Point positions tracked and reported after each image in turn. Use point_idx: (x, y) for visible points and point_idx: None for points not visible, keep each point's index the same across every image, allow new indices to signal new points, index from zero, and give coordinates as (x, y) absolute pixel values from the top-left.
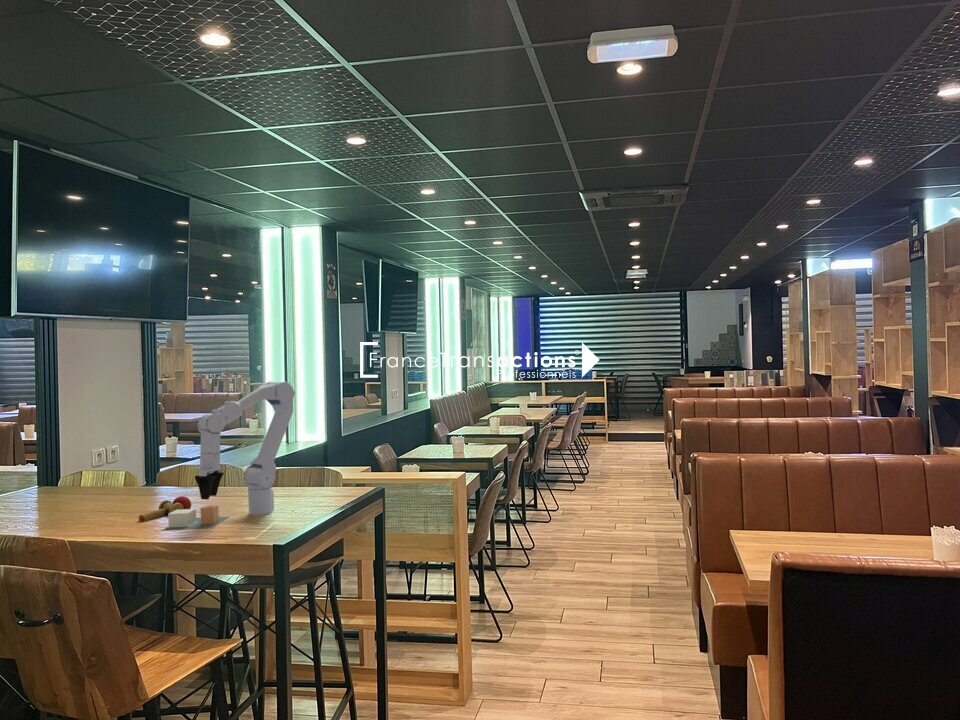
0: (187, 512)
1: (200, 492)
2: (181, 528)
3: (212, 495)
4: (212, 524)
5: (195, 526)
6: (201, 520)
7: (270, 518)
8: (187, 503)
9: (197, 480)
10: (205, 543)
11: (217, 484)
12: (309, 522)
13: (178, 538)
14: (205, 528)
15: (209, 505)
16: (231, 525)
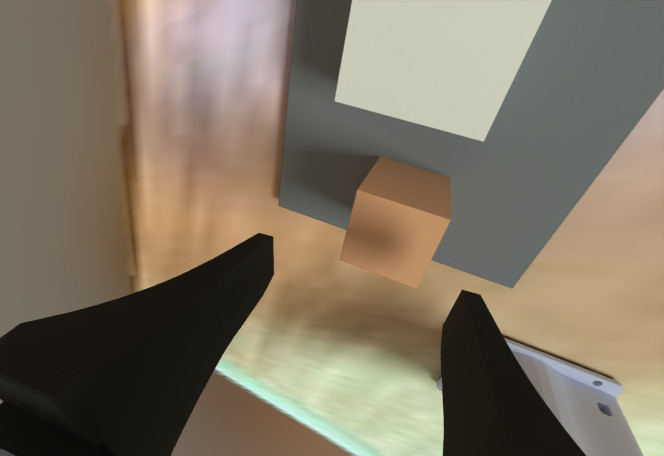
0: (360, 91)
1: (217, 259)
2: (320, 54)
3: (451, 311)
4: None
5: (342, 131)
6: (375, 165)
7: (417, 379)
8: None
9: (58, 329)
10: (134, 182)
11: (447, 432)
12: (313, 412)
13: (190, 71)
14: (284, 180)
15: (428, 244)
16: (360, 268)
